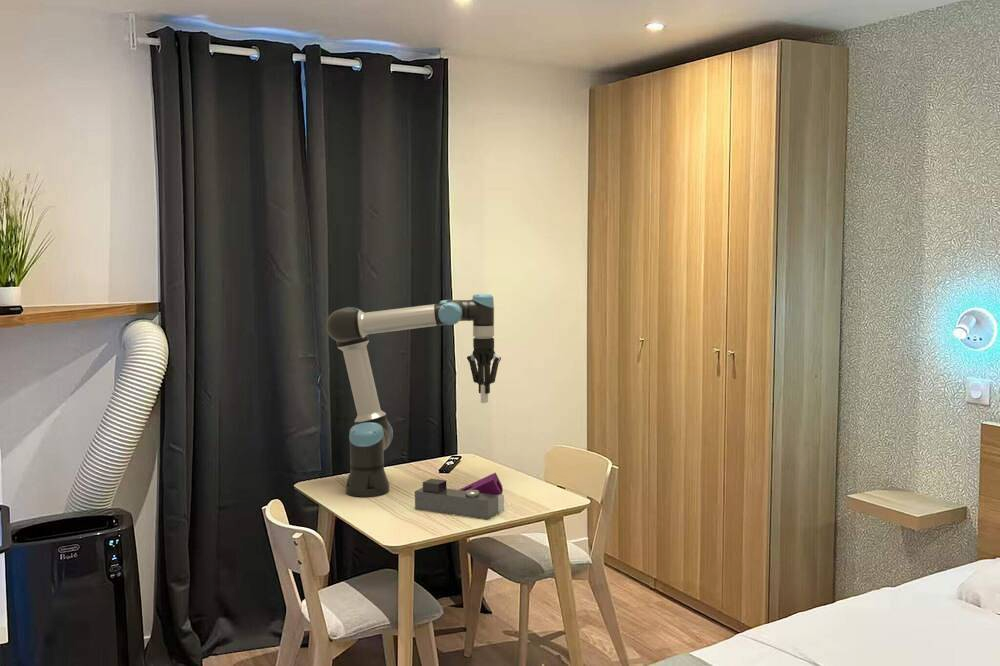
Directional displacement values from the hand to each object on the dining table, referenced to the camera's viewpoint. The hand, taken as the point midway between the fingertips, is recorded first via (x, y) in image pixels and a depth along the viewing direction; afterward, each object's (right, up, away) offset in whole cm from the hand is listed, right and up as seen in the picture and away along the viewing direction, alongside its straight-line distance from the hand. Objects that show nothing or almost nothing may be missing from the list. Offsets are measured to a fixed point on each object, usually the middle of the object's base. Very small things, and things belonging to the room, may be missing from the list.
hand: (484, 402), depth 316 cm
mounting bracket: (-3, -32, -24) cm, 40 cm away
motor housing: (-8, -32, -31) cm, 45 cm away
